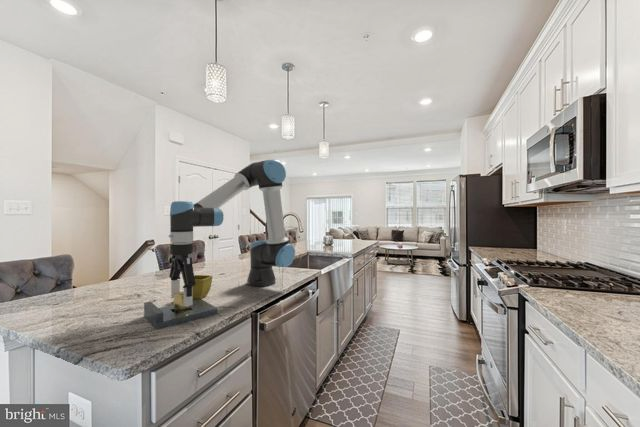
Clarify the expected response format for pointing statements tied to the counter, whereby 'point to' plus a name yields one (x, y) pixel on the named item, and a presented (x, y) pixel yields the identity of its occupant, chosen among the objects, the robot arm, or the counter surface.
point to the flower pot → (201, 286)
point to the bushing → (179, 303)
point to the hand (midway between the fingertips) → (181, 301)
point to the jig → (168, 317)
